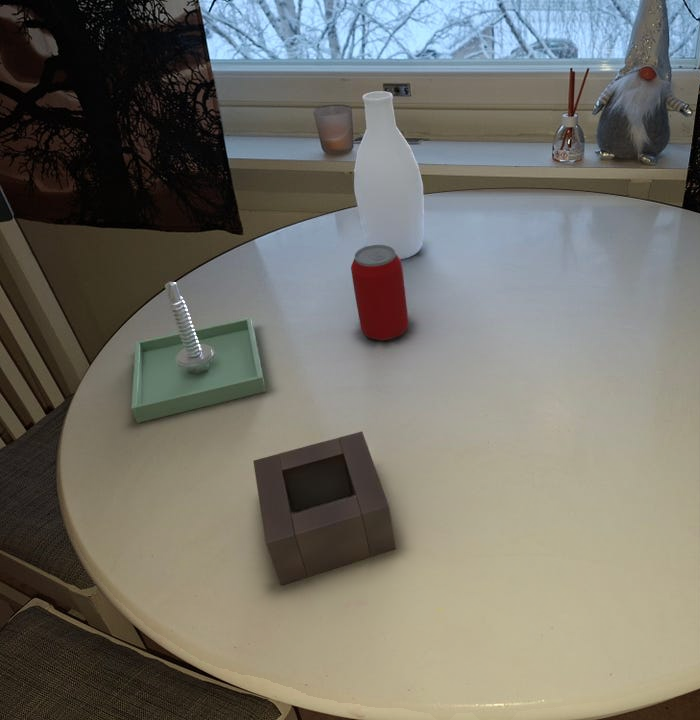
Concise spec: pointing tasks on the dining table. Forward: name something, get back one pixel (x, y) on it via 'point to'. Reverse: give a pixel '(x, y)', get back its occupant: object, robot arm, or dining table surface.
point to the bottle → (388, 181)
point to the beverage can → (380, 292)
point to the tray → (189, 390)
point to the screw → (188, 335)
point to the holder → (322, 507)
